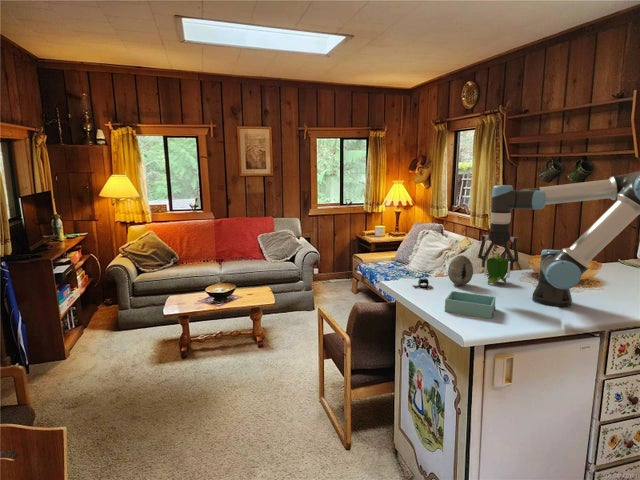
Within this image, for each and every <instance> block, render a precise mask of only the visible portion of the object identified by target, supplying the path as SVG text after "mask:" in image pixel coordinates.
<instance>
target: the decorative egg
mask: <svg viewBox="0 0 640 480" xmlns="http://www.w3.org/2000/svg"><path fill="white" fill-rule="evenodd" d="M447 275H448V278H449V280H450V281H451V282H452V283H453V284H454V285H457V286H465V285H467V284H469V282H471V280H472V278H473V275H474V267H473V263H472V261H471V260H470V259H469V257H468V256H466V255H463V254H462V255H461V254H460V255H457V256H455V257H453V259H452V260H451V262H450V263H449V266H448V268H447Z"/></svg>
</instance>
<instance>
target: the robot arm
mask: <svg viewBox="0 0 640 480" xmlns="http://www.w3.org/2000/svg"><path fill="white" fill-rule="evenodd" d="M491 195H492V196H491V208H490V209H491V210H490V224H489V225H490V227H489V234H487V235H485V234H483V235H482V236H481V243H480V248H479V251H478V256H477V258H478V259H481V260H482V261H481V262H482V264H481V267H482V268H484V271H483V272H484V275H483V276H485V277H487V274H488V269H487V261H488V259H487V257H488V256H489V254H490V252H491V250H492V249H493V247H494V246H498V245H499V246H503V248H504V250H505V252H506V255H507V257H508V259H509V260H508V273H506V276H507V278H506V279H510V276H511V275H510V274H511V271H513V270H514V263H515V262H517V263H518V261H519V251H518V244H517V242H518V236H511V234H510V233H511V232H510V230H511V224H510V222H511V217H512V210H513V209H514V210H515V209H516V210H517V209H518V210H533V211H535V210H536V211H537V210H543V209H545V206H546V205H555V204H556V205H557V204H564V203H574V202H576V203H577V202H586V201H595V200H596V201H597V200H606V199H610V200H612V201H615V202H614V203H613V204H612V205H611V206H610V207H609V208H608V209H607V210H606V211H604V213H603V214H602V215H601V216H600V217H598V219H597V220H596V221H594V222H593V224H592V225H591V226H590V227H588V228H587V230H586V231H584V233H582V234H581V235H580V236H579V238H578V239H577V240H576V241H574V243H572V245H571V246H570V247H565V248H561V249H542V250H541V252H540V253H541V254H540V262H539V263H540V264H539V271H538V282H537V285H536V286H535V289H534V291H532V298H531V300H532V301H533V302H535V303H537V304H540V305H544V306H547V307H548V306H549V307H555V308H568V307H571V306H572V305H573V298H572V294H571V290H570V289H573V288H574V287H576V286H577V285H578V284H579V283H580V281H581V279H582V276H583V274H584V273H586V272H587V271H588V269H590V266H589V263H590V262H591V261H592V260H593V259H594V258H595V257H596V256H597V255H598V254H599V253H601V251H602V250H603V249H604V248H605V247H606V246H607V245H609V243H611V242H612V241H613V240H614V239H615V238H616V237H617V236H619V235H620V233H621V232H623V230H624V229H626V227H628V226H629V224H631V223H632V222H633V221H634V220H635V219H636V218H637V217H638V216H639V215H640V170H638V171H635V172H634V171H633V172H630V173H625V174H619V175H615V176H614V175H612V176H610V177H609V178H608V179H599V180H593V181H584V182H576V183H575V182H574V183H567V184H558V185H550V186H540V187H534V188H532V187H531V188H522V189H520V190H516V189H514V186H513V185H510V184H509V185H508V184H507V185H506V184H503V185H501V184H499V185H498V184H497V185H494V186H493V187H492V194H491ZM488 239H489V240H490V244H489V246H488V248H487V249H486V251H485V252H484V248H485V244H486V241H487V240H488ZM510 240H511V241H510ZM509 241H510V242H511V243H512V247H513V254H514V256H513V255H512V253H511V250H510V248H509V245H508V242H509ZM483 253H484V254H483Z"/></svg>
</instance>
